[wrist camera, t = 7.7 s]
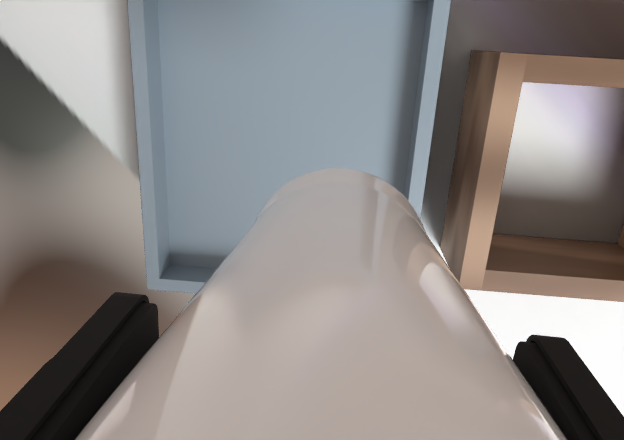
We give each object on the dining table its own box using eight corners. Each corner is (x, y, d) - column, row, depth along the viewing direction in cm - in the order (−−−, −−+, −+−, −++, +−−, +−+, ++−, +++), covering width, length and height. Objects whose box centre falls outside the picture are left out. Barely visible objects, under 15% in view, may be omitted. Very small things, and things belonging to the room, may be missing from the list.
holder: (631, 262, 31) (689, 307, 25) (440, 247, 31) (458, 288, 26) (693, 63, 27) (776, 68, 21) (471, 50, 27) (500, 52, 22)
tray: (402, 287, 32) (407, 311, 30) (164, 268, 33) (147, 289, 30) (442, -13, 26) (453, -19, 23) (148, -28, 27) (124, -37, 24)
